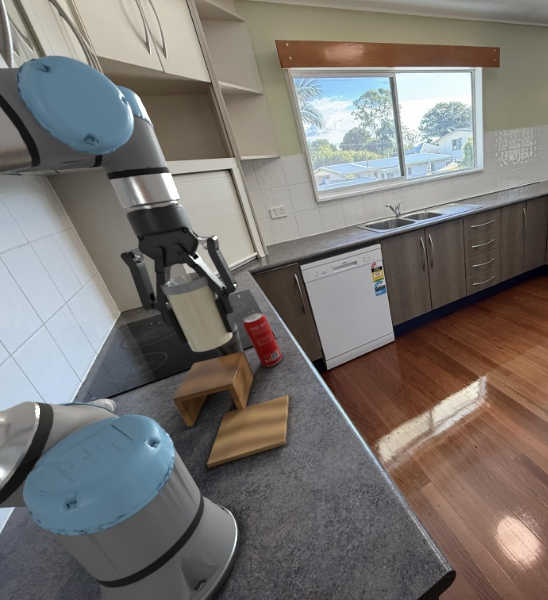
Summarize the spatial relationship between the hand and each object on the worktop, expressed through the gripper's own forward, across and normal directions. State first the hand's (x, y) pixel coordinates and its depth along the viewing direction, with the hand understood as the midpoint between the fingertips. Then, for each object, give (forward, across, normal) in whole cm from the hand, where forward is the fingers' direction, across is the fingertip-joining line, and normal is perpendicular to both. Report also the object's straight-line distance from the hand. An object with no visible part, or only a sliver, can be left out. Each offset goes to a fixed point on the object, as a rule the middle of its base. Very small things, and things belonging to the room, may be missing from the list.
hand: (209, 334), depth 57 cm
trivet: (+23, -1, +1) cm, 23 cm away
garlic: (+23, +37, -20) cm, 48 cm away
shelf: (+23, +8, -13) cm, 28 cm away
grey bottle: (+23, +7, -26) cm, 35 cm away
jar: (+2, 0, 0) cm, 2 cm away
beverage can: (+23, -2, -25) cm, 34 cm away
